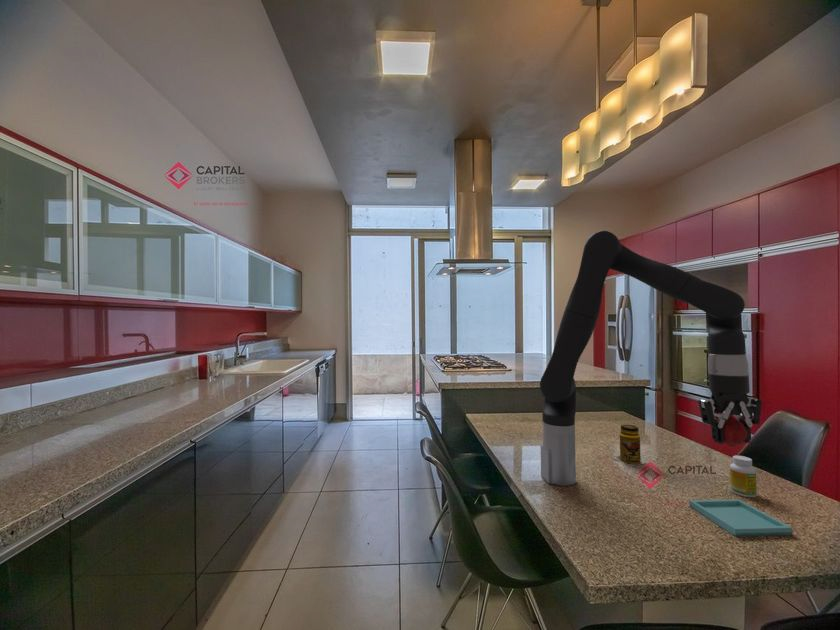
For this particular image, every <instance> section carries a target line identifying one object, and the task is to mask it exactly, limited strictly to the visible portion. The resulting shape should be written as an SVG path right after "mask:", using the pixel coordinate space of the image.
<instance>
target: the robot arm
mask: <svg viewBox="0 0 840 630" xmlns="http://www.w3.org/2000/svg"><path fill="white" fill-rule="evenodd" d="M610 270H612V271H616V272H618V273H621V274H624V275H627V276H629V277H632V278H634V279H636V280H638V281H640V282H642V283H644V284H645V285H647V286H650V287H651V288H653V289H655V290H656V291H658V292H660V293H662V294H664V295H667V296H668V297H671V298H673V299H675V300H677V301H679V302H682V303H685V304H689V305H691V306H693V307H695V308H696V309H698V310H700V311H703V312H704V313H705V317H706V318H705V319H706V326H707V351H708V357H707V371H708V372H707V373H708V374H707V375H708V376H707V377H708V389H709V390H710V393H711V395H710V398H709V399H702V398H699V399H698V401H697V402H698V407H699V412H700V415H701V421H702V423H703V424H705V425H709V426H710V427H711V438H712V440H713V441H714V443H717V444H720V445H721V444H725V443H724V430H723V428H722V427H723V425H724V422H725V420H727V419H728V417H729V415H732V416H733V417H734V418H735V419H737V420H738V421H740V422H741V423H742V424H743V425H744V427H745V428H746V431H747V438H746V439H745V441H744V442H743V443H745V444H749V443H750V442H751V440H752V429H751V428H752V427H753V426H754V425H759V424H760V423H761V421H760V420H761V411H762V409H761V408H762V401H761V399H758V398H754V397H749V396H748V394H749V393H750V389H751V388H750V375H749V363H748V359H747V349H746V338H745V334H744V332H743V330H742V329H743V328H742V313H743V312H744V310H745V307H746V305H745V300H744V298H743V297H742V295H740V294H738V293H737V292H736V291H733V290H731V289H729V288H726V287H723V286H720V285H717V284H715V283H712V282H709V281H705V280H704V279H701V278H700V277H697V276H696V275H693V274H691V273H689V272H687V271H684V270H682V269H680V268H678V267H676V266H672V265H669V264H667V263H663V262H660V261H657V260H653V259H651V258H648V257H645V256H643V255H640V254H639V253H636V252H634V251H633V250H631V249H630V248H628V247H627V246H625V245H624V244H622V242H621V241H620V240H619V238H618V237H617V235H615V234H614V233H613V232H611V231H608V230H599V231H596V232H594V233H593V234H592V235H590V236H589V238H587V239H586V241H585V243H584V247H583V249H582V256H581V260H580V266H579V269H578V274H577V277H576V280H575V281H574V285H573V287H572V290H571V292H570V295H569V297H568V299H567V300H568V301H567V303H566V306H565V308H564V311H563V315H562V317H561V321H560V324H559V327H558V331H557V334H556V339H555V341H554V342H555V343H554V347H553V351H552V354H551V357H550V359H549V361H548V363H547V366H546V368H545V370H544V372H543V374H542V376H541V378H540V381H539V389H540V393H541V394H542V396H543V398H544V403H543V404H544V405H543V410H542V413H541V414H542V419H541V421H542V444H540V476H541V477H542V479H544V481H545V482H546V483H547V484H550V485H551V484H552V485H557V486H565V487H566V486H567V487H568V486H573V485H575V483H576V482H577V473H576V472H577V471H576V468H577V467H576V466H577V465H576V426H575V424H576V420H575V419H576V412H577V411H576V410H577V409H576V408H577V407H576V406H577V403H576V402H577V400H576V398H577V397H576V395H577V392H576V390H577V388H576V381H575V378H574V377H575V373H576V369H577V365H578V363H579V360H580V358H581V356H582V354H583V352H584V350H585V349H586V346H588V343H589V342H590V340H591V337H592V334H593V332H594V330H595V327H596V324H597V321H598V319H599V315H600V311H601V307H602V306H601V305H602V299H603V290H604V284H605V281H606V279H607V276H608V273H609V271H610ZM719 413H720V414H719Z"/></svg>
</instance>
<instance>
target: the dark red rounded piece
mask: <svg viewBox="0 0 840 630" xmlns="http://www.w3.org/2000/svg"><path fill="white" fill-rule="evenodd" d="M722 428H723V430H724V443H723V444H725V445H727V446H728V447H729V448H735V447H737V446H739V445H741V444H743V443H745V442H744V441H745V439H746V438H747V431H746V428H745V427H744V425H743V424H742V423H741V422H740V421H738V420H737V419H736V417H735V416H733V415H729V417H728V419H727V420H725V422H724V425H723V427H722Z"/></svg>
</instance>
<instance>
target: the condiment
mask: <svg viewBox="0 0 840 630" xmlns="http://www.w3.org/2000/svg"><path fill="white" fill-rule="evenodd" d="M610 459H612V460H615V461H618V462H620V463H621V464H622V463H623V464H626V465H628V466H630V467H634V466H635V467H636V466H640V465H643V464H647V463H648V462H646V461H643V460H641V459H642V457H641V436H640V434H639V427H638V426H636V425H632V424H622V425H620V432H619V455H617V456H612V457H610Z"/></svg>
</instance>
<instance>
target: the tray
mask: <svg viewBox="0 0 840 630" xmlns="http://www.w3.org/2000/svg"><path fill="white" fill-rule="evenodd" d="M688 501H689V504H688V505H689V507H690V508H691V509H692V508H693V509H692V510H694V511H695V512H697V513H699V514H700V515H701V516H703V517H705V518H706V519H708V520H709V521H711V522H712V523H714V524H715V525H717V526H719V527H720V528H721V529H723V530H725V531H726V532H728V533H729V534H731V535H732V536H734V537H760V536H761V537H765V536H771V537H772V536H793V527H792V526H790V525H788V524H786V523H784V522H783V521H780V520H778V519H777V518H775V517H772V516H770V515H769V514H768V513H766V512H763V511H762V510H760V509H757V508H756V507H754V506H752V505H750V504H748V503H747V502H744V501H743V500H740V499H739V498H737V499H735V498H733V499H696V500H695V499H692V500H688Z"/></svg>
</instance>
